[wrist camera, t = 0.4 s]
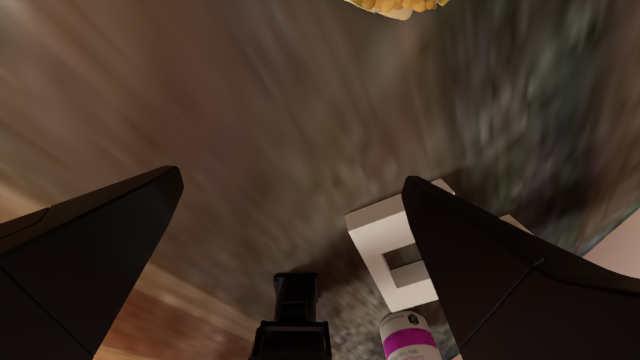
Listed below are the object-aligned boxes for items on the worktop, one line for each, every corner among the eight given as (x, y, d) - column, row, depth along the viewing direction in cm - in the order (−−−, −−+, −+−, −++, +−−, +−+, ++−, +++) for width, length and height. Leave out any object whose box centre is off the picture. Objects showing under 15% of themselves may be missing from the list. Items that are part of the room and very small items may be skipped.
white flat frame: (386, 294, 37) (392, 314, 34) (344, 215, 29) (348, 233, 26) (461, 271, 35) (475, 291, 32) (440, 178, 27) (456, 194, 24)
